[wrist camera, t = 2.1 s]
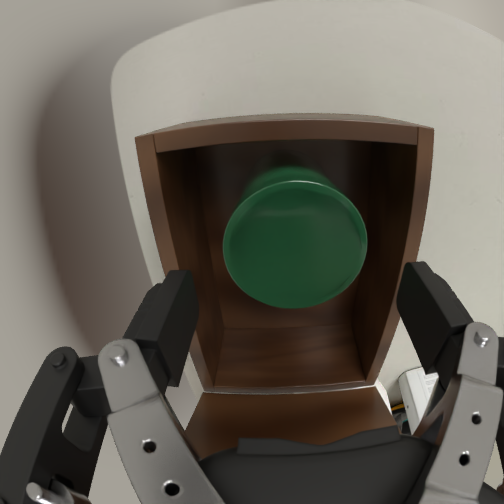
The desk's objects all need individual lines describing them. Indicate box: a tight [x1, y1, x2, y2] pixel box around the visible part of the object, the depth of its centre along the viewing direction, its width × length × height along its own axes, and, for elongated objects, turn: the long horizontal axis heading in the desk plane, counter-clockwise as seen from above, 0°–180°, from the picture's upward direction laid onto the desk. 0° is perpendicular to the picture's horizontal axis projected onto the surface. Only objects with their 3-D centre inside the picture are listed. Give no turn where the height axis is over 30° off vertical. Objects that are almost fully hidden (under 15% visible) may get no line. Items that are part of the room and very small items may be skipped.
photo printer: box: [398, 367, 439, 435], centre depth 26 cm, size 10×4×12 cm, turn 97°
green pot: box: [223, 149, 367, 309], centre depth 16 cm, size 6×6×9 cm
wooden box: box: [135, 113, 434, 393], centre depth 19 cm, size 20×14×8 cm
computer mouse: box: [391, 403, 412, 435], centre depth 35 cm, size 9×17×6 cm, turn 91°
